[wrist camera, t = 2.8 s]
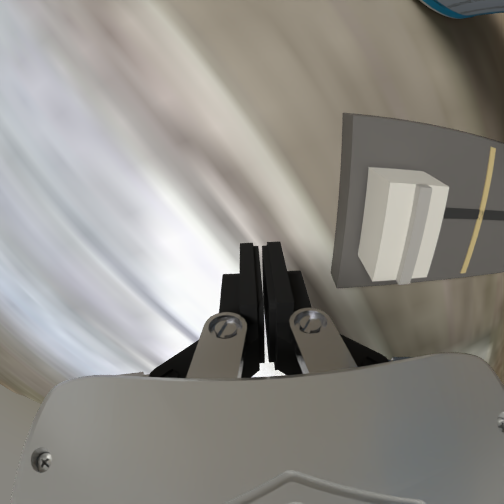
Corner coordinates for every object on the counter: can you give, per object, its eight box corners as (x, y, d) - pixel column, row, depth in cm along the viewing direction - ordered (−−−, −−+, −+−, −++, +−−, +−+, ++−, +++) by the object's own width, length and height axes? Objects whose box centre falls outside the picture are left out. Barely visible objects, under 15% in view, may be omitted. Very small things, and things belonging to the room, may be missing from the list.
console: (527, 150, 16) (541, 157, 14) (500, 260, 22) (510, 271, 20) (342, 112, 16) (353, 115, 14) (330, 272, 22) (337, 289, 20)
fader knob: (423, 171, 15) (454, 190, 12) (407, 252, 19) (430, 281, 16) (368, 167, 16) (394, 185, 13) (357, 255, 19) (375, 286, 16)
